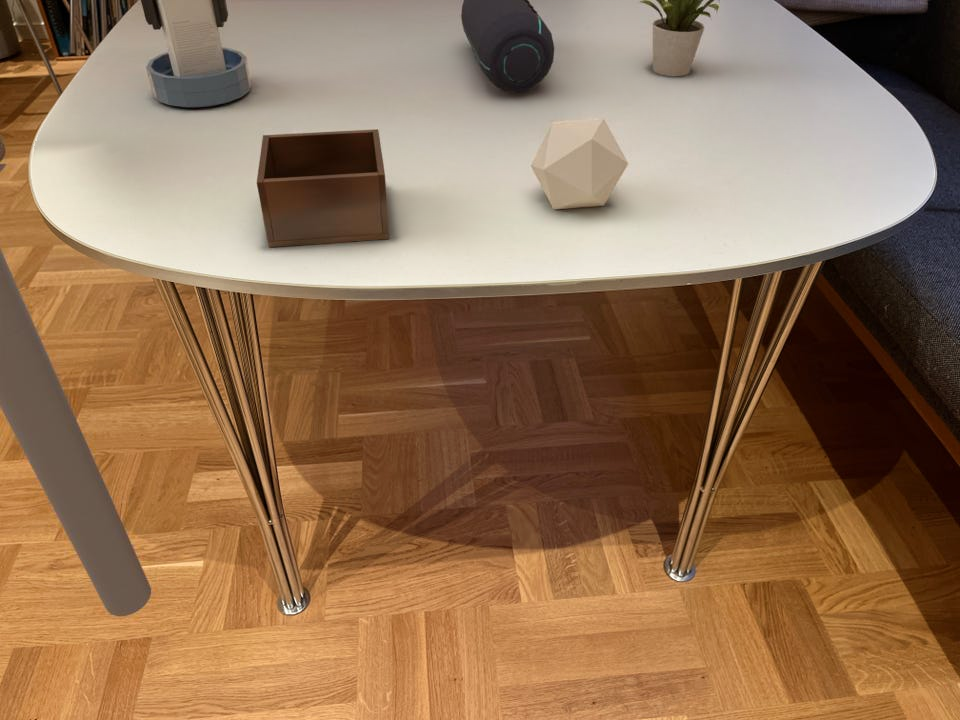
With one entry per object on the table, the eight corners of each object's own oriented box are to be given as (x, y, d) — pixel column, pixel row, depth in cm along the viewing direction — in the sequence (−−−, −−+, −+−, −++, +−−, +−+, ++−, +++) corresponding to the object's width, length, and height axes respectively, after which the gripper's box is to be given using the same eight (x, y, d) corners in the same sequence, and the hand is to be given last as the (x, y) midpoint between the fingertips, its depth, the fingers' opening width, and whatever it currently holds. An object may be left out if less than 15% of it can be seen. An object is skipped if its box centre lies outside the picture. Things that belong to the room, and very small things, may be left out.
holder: (268, 247, 71) (256, 182, 67) (273, 196, 79) (262, 134, 75) (389, 239, 73) (385, 174, 68) (382, 189, 80) (378, 129, 76)
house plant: (749, 73, 110) (779, -55, 99) (696, 97, 102) (722, -39, 92) (666, 49, 117) (686, -72, 107) (610, 70, 110) (626, -58, 99)
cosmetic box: (220, 80, 103) (201, -16, 96) (230, 90, 101) (212, -8, 93) (175, 88, 101) (152, -10, 93) (184, 98, 98) (161, -2, 91)
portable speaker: (558, 100, 101) (564, 20, 94) (482, 103, 99) (484, 22, 93) (520, 40, 120) (524, -30, 113) (457, 43, 118) (457, -28, 112)
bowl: (147, 112, 96) (138, 80, 93) (162, 78, 105) (155, 48, 102) (247, 107, 97) (242, 75, 95) (254, 74, 107) (248, 44, 104)
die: (606, 185, 83) (558, 105, 80) (658, 176, 75) (607, 87, 72) (552, 232, 81) (500, 153, 78) (599, 229, 73) (544, 140, 70)
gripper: (225, -134, 89) (250, 16, 100) (95, -133, 87) (134, 20, 98) (218, -125, 83) (246, 33, 94) (79, -124, 82) (123, 38, 92)
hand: (189, 26), depth 96 cm, fingers closed on cosmetic box, 7 cm apart
